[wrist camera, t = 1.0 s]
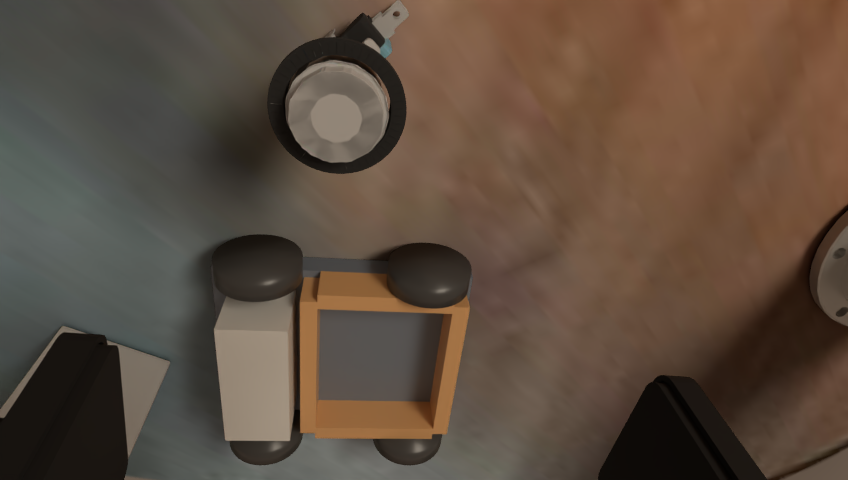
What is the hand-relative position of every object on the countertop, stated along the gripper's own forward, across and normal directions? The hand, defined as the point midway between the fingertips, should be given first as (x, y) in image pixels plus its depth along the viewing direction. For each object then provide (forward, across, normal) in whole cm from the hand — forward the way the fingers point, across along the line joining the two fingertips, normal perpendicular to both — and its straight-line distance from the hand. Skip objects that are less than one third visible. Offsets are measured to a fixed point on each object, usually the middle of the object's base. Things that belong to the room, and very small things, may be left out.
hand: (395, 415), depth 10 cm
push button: (+24, 0, -1) cm, 24 cm away
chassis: (+23, -1, +18) cm, 29 cm away
